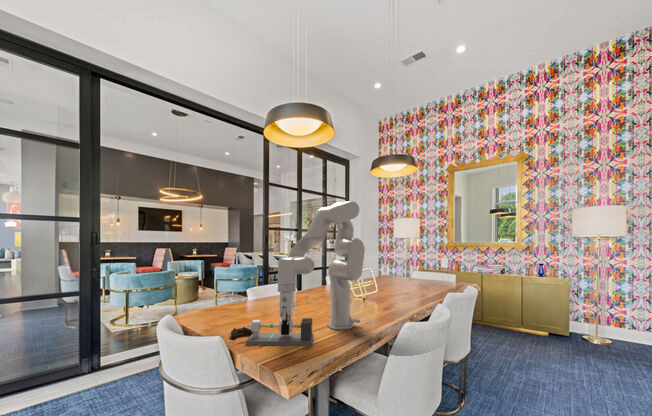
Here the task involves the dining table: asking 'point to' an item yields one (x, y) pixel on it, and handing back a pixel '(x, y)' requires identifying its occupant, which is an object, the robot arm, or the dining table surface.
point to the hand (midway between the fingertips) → (286, 332)
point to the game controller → (240, 332)
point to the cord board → (279, 339)
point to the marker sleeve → (289, 325)
